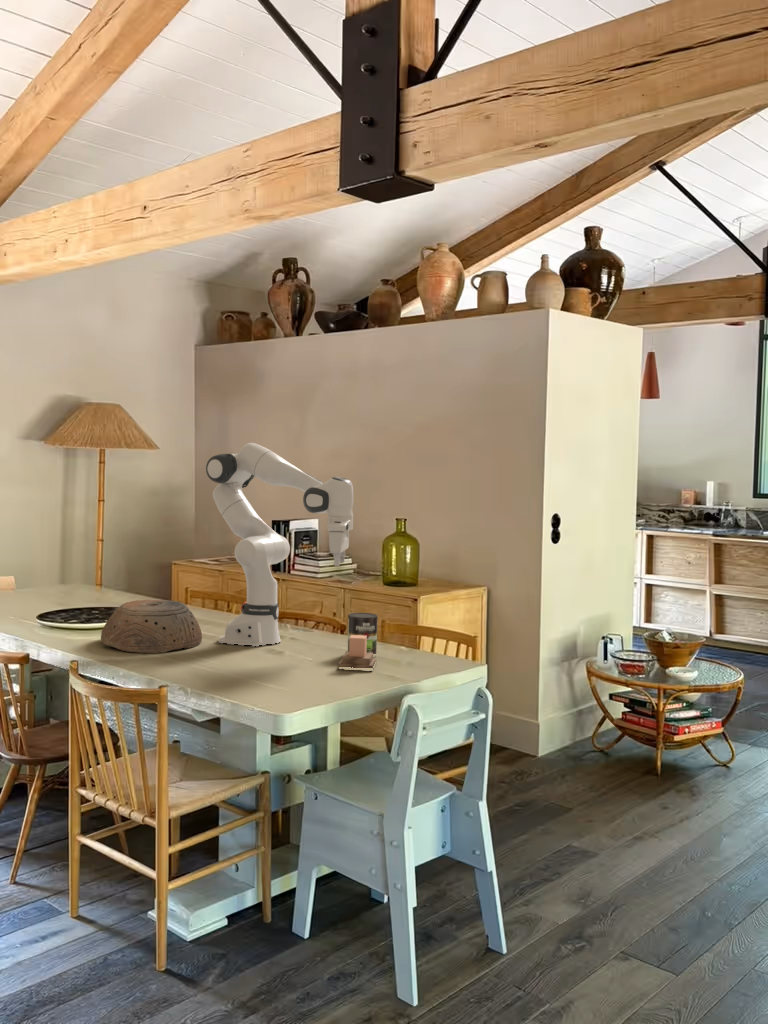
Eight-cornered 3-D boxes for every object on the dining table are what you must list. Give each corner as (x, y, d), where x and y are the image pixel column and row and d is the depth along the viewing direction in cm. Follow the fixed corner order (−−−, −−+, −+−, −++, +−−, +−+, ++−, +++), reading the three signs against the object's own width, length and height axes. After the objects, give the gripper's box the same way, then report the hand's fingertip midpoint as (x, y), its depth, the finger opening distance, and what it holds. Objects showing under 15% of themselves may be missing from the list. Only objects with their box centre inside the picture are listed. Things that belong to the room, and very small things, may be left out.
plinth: (338, 670, 296) (338, 657, 296) (343, 662, 307) (343, 650, 307) (372, 671, 295) (372, 659, 295) (376, 664, 306) (376, 652, 306)
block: (349, 656, 299) (349, 637, 298) (351, 652, 304) (351, 634, 303) (364, 656, 298) (364, 638, 298) (366, 653, 303) (366, 635, 303)
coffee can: (380, 658, 316) (381, 617, 315) (350, 659, 313) (351, 617, 312) (372, 651, 326) (373, 612, 325) (344, 652, 323) (345, 612, 322)
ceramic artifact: (87, 654, 311) (87, 610, 311) (114, 635, 347) (113, 596, 346) (193, 654, 313) (192, 610, 312) (208, 635, 349) (208, 596, 348)
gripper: (336, 522, 330) (335, 560, 331) (326, 526, 310) (325, 567, 311) (353, 522, 329) (352, 561, 330) (344, 526, 309) (343, 567, 310)
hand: (339, 564), depth 320 cm, fingers open, 8 cm apart
